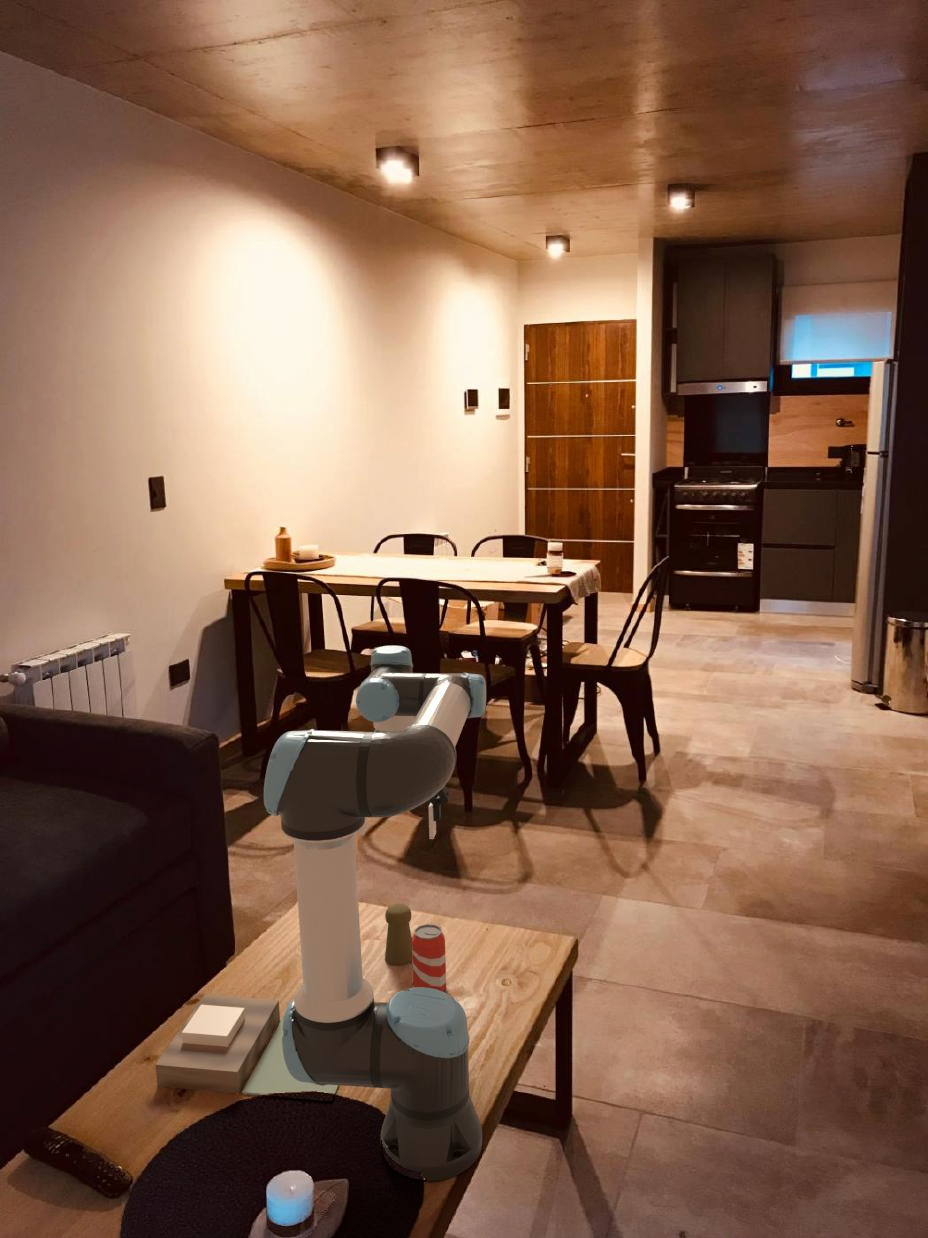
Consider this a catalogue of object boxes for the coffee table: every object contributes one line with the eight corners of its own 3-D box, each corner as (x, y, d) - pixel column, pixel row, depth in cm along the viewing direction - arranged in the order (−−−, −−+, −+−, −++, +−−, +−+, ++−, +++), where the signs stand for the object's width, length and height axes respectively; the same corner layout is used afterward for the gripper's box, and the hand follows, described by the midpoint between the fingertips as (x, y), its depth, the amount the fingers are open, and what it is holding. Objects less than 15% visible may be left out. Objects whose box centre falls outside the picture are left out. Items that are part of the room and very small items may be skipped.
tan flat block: (239, 1094, 165) (237, 1072, 164) (157, 1086, 167) (155, 1065, 166) (280, 1020, 184) (278, 1000, 183) (206, 1014, 186) (204, 994, 185)
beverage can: (442, 1000, 189) (441, 941, 186) (409, 996, 190) (407, 938, 188) (449, 981, 195) (448, 924, 192) (417, 978, 196) (415, 921, 194)
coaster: (227, 1046, 170) (227, 1036, 170) (182, 1043, 172) (181, 1032, 171) (245, 1018, 178) (244, 1008, 178) (201, 1015, 179) (201, 1004, 179)
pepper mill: (386, 949, 207) (384, 899, 204) (416, 949, 206) (414, 899, 204) (383, 966, 201) (380, 915, 198) (413, 966, 200) (411, 915, 198)
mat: (331, 1102, 162) (331, 1100, 162) (242, 1094, 165) (241, 1092, 165) (363, 1026, 182) (363, 1024, 181) (282, 1020, 184) (282, 1018, 184)
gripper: (463, 724, 192) (465, 829, 197) (335, 719, 196) (340, 823, 201) (456, 737, 185) (458, 846, 189) (323, 732, 189) (329, 839, 194)
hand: (398, 834), depth 195 cm, fingers open, 13 cm apart
